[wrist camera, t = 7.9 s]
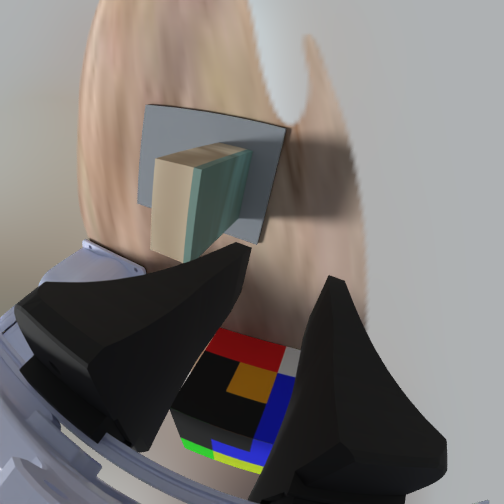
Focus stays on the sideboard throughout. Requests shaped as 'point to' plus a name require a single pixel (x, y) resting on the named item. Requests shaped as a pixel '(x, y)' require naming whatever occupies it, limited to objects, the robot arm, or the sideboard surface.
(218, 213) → the tile
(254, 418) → the puzzle toy
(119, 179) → the sideboard surface
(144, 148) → the mat
